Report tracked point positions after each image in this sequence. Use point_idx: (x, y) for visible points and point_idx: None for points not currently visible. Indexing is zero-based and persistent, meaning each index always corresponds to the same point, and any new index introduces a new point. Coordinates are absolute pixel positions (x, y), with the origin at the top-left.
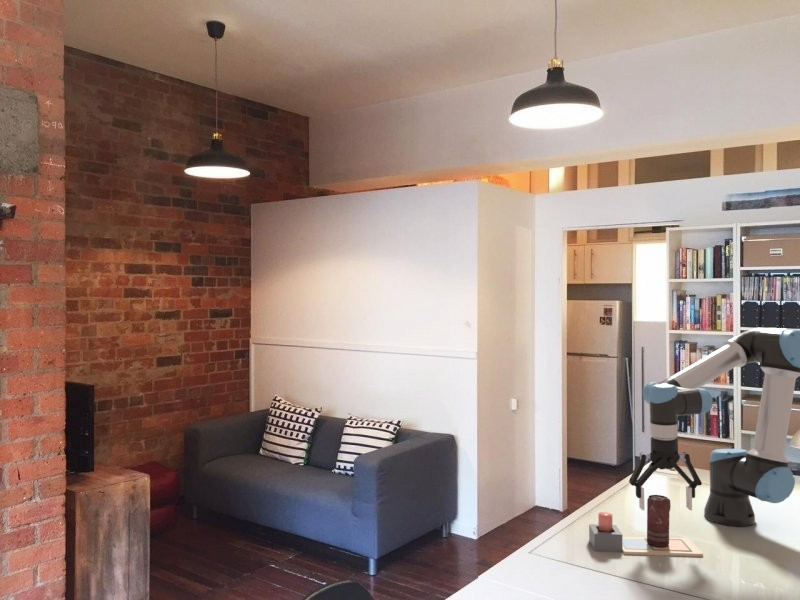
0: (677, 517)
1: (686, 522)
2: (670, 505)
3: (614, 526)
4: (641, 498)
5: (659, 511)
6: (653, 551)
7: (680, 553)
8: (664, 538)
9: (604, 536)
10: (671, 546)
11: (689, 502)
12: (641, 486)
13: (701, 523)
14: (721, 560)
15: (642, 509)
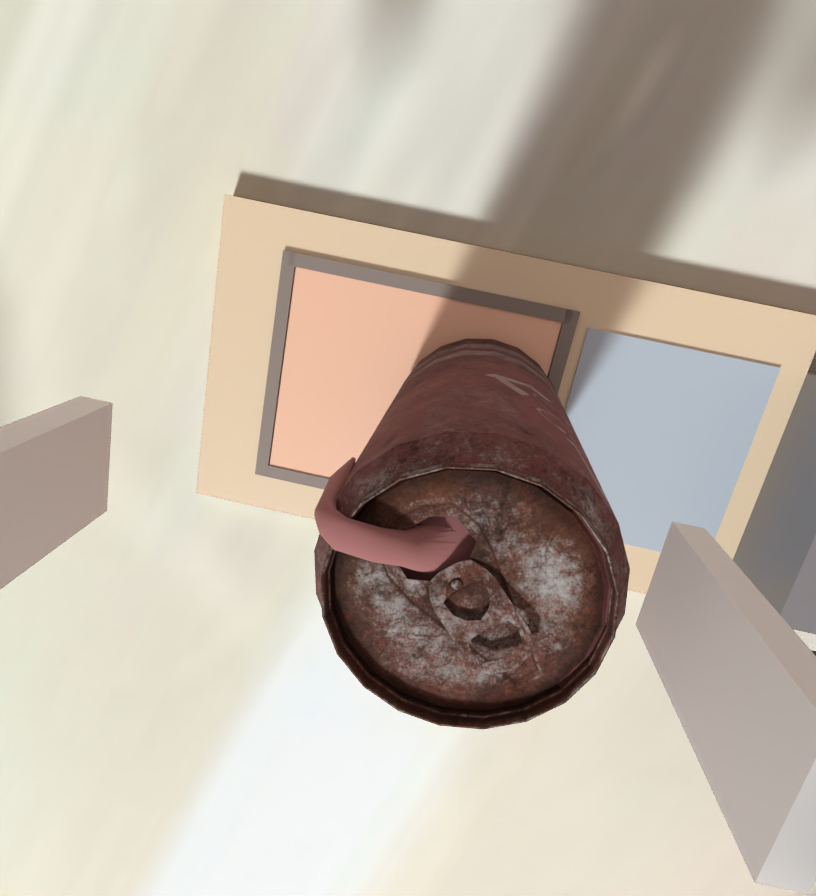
0: (107, 830)
1: (86, 756)
2: (330, 478)
3: (813, 596)
4: (770, 618)
5: (525, 412)
6: (586, 288)
7: (390, 229)
8: (465, 347)
9: None
10: (395, 360)
11: (51, 428)
12: (806, 829)
13: (3, 726)
14: (129, 107)
15: (698, 530)
